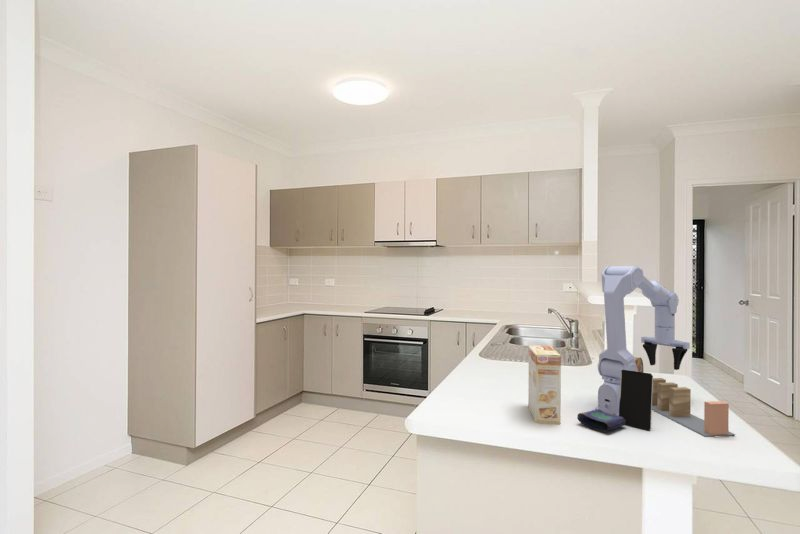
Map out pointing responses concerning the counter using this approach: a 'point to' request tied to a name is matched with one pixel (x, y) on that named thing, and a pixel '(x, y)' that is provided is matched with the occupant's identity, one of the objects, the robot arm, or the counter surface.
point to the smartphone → (636, 399)
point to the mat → (689, 422)
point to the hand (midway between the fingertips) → (664, 367)
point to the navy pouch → (601, 420)
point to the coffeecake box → (544, 384)
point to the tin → (639, 364)
